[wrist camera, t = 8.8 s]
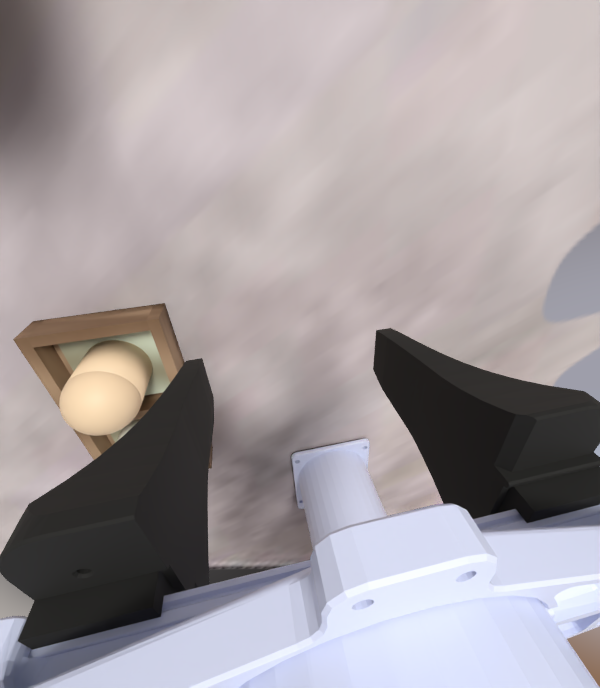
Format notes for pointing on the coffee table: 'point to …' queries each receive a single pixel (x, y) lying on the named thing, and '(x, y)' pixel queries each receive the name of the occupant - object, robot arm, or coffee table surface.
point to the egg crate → (89, 329)
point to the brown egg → (106, 388)
